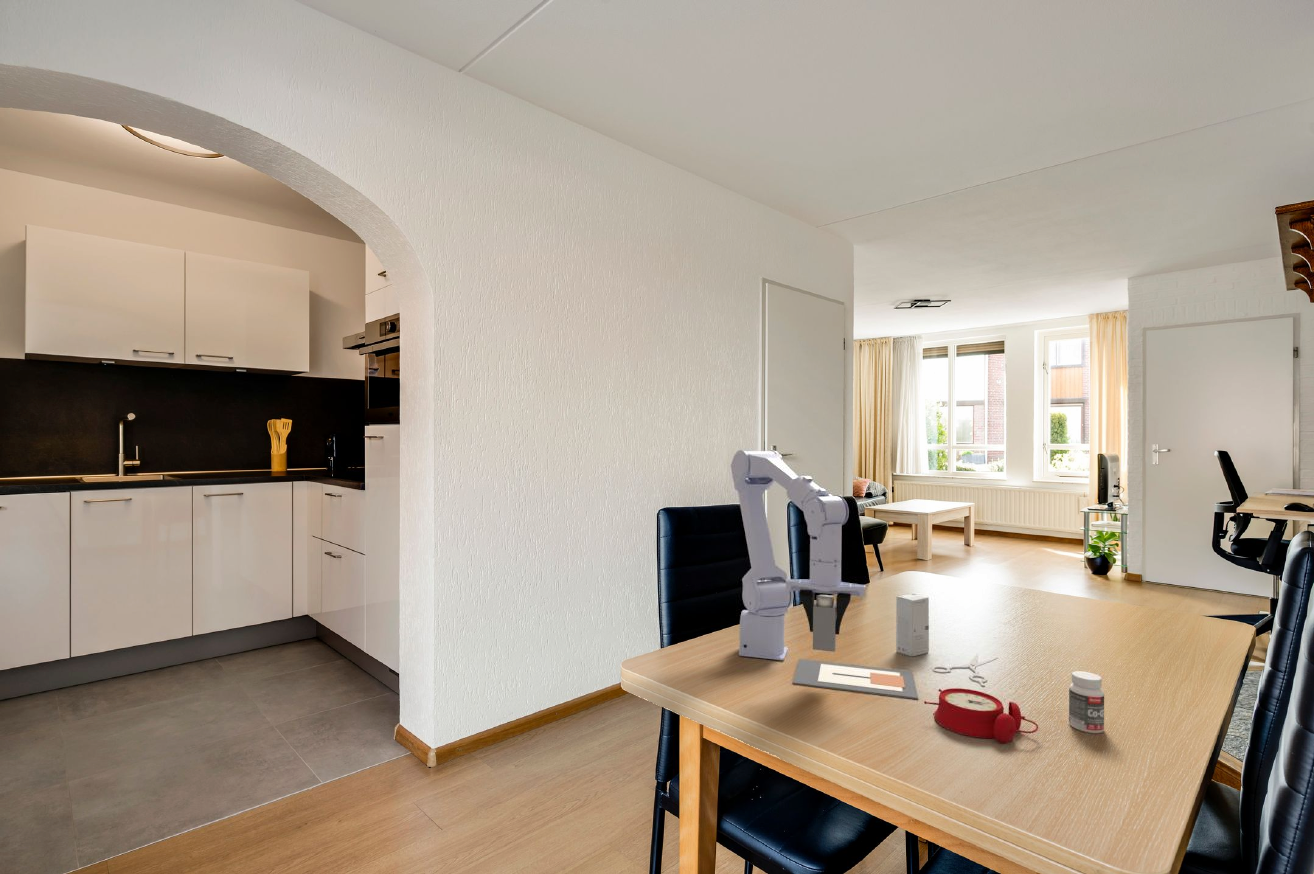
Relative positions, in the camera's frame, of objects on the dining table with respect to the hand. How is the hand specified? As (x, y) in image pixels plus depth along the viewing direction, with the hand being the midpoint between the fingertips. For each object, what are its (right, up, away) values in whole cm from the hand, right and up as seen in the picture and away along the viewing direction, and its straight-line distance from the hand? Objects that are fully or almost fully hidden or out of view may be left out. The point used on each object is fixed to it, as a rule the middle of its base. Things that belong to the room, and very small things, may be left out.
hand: (824, 631), depth 121 cm
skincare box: (+24, -11, +19) cm, 33 cm away
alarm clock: (+21, -10, -18) cm, 29 cm away
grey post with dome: (0, -3, 0) cm, 3 cm away
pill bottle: (+38, -10, -17) cm, 43 cm away
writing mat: (+7, -10, +3) cm, 12 cm away
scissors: (+33, -11, +10) cm, 36 cm away
